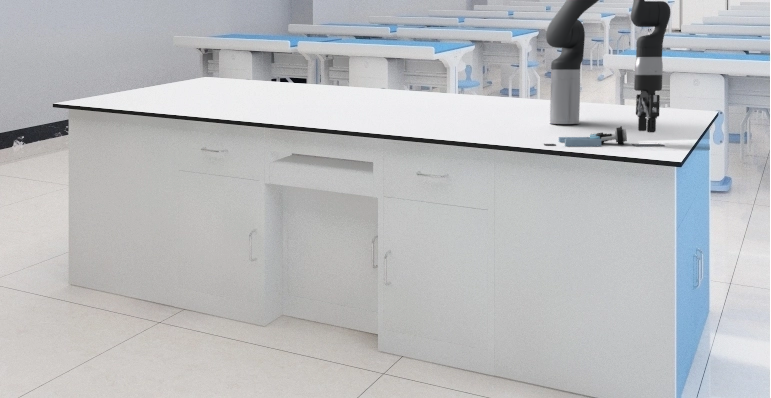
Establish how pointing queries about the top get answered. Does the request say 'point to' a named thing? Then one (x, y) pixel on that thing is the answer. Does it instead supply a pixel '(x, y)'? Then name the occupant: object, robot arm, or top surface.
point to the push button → (611, 136)
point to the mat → (648, 145)
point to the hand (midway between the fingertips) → (646, 131)
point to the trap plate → (550, 144)
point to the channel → (580, 141)
